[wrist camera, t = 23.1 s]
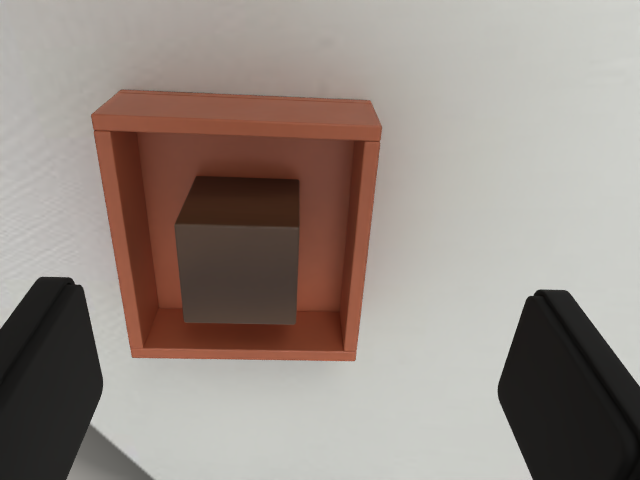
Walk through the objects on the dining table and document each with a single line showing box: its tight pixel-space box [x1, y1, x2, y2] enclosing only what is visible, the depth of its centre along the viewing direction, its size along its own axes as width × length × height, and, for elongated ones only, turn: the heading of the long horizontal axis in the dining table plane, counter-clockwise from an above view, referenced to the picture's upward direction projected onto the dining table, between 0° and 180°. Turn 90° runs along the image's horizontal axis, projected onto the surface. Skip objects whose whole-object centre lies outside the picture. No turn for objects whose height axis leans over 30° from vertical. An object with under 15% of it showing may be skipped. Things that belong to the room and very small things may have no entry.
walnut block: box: [174, 176, 300, 325], centre depth 22 cm, size 4×4×4 cm
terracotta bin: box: [91, 90, 382, 361], centre depth 23 cm, size 11×10×4 cm
